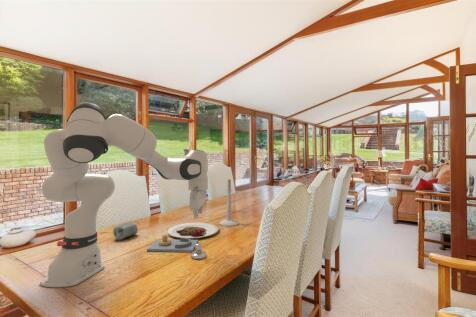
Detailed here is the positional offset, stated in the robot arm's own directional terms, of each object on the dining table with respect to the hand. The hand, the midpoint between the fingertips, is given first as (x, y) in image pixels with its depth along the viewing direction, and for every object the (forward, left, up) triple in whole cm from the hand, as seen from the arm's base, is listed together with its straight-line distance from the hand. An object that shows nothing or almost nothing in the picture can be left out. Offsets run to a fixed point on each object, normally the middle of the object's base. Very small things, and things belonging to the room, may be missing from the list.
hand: (198, 215), depth 120 cm
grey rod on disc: (+55, -10, -19) cm, 59 cm away
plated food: (+36, +10, -19) cm, 42 cm away
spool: (+25, +46, -19) cm, 56 cm away
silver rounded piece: (0, 0, -19) cm, 19 cm away
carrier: (+12, +15, -19) cm, 27 cm away
